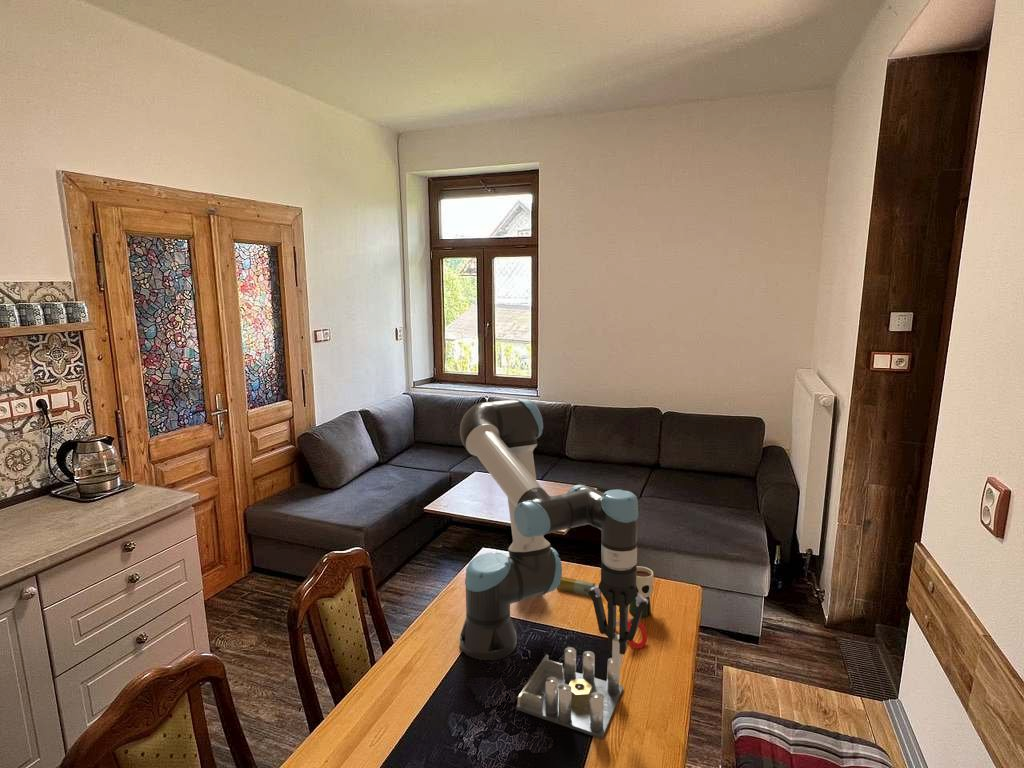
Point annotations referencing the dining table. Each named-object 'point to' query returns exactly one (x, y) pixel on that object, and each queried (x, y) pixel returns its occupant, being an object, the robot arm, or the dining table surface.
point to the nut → (580, 692)
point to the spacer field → (554, 694)
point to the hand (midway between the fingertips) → (616, 665)
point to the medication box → (575, 586)
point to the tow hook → (644, 634)
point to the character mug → (643, 589)
